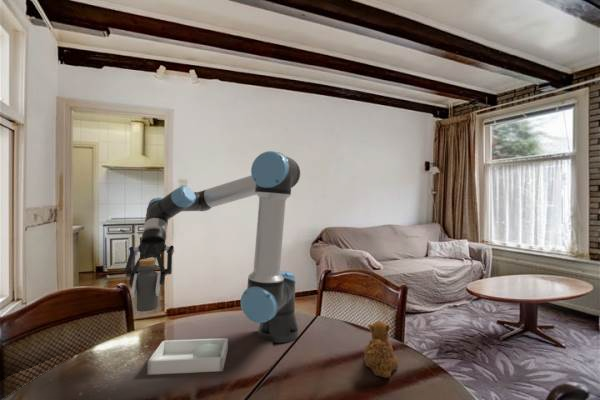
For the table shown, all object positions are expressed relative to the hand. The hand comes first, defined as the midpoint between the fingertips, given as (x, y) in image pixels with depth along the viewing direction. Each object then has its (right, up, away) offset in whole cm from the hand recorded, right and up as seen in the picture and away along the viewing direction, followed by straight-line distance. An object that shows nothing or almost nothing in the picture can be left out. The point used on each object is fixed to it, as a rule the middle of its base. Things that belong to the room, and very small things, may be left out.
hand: (145, 294), depth 92 cm
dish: (+18, -20, 0) cm, 27 cm away
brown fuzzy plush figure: (+70, -22, -2) cm, 73 cm away
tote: (+14, -21, 0) cm, 25 cm away
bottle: (-1, -6, +3) cm, 7 cm away
